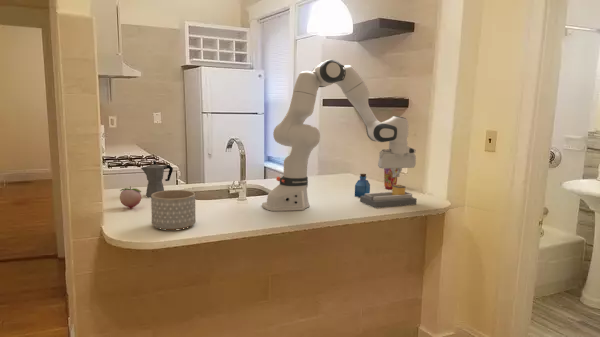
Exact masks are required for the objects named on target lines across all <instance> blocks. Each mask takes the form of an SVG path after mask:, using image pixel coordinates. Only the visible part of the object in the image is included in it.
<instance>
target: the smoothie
mask: <svg viewBox="0 0 600 337" xmlns="http://www.w3.org/2000/svg"><path fill="white" fill-rule="evenodd" d="M397 171H398V170H397V168H396V170H395V172H396V173H397ZM383 175H384V177H383V178H384V180H383V181H384V183H383V184H384V186H383V187H384V189H385V190H392V188H393V186H392V185H398V184H397V182H398V177H393V173H392V171H391V168H383Z"/></svg>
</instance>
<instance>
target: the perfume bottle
mask: <svg viewBox="0 0 600 337" xmlns="http://www.w3.org/2000/svg"><path fill="white" fill-rule="evenodd" d="M359 175H360V176H359V179H358V180H357V181H356V183H355V185H354V197H356V198H360V196H365V194H366V193H371V184H370V182H369V180H368V179H367V174H366V173H359Z"/></svg>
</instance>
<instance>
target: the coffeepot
mask: <svg viewBox="0 0 600 337" xmlns="http://www.w3.org/2000/svg"><path fill="white" fill-rule="evenodd" d="M140 169H141V170H142V171H143V172H144V174H145V176H146V180H147V181H148V182H147V186H146V191H145V192H146V194H145V197H146V196H147V198H149V197H151V195H152V194H153V193H155V192H159V191H165V188H164V184H163V180H164V181H165V182H169V181H171V180H170V179H171V176H172V173H173V170H174V167H172V166H171V165H170V164H163V165H161V164H157V160H153V161H152V164H151V165H150V164H149V165H146V166H142V167H141V168H140ZM165 170H168V174H167V178H166V179H165V178H164V172H165ZM163 178H164V179H163Z"/></svg>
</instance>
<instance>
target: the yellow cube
mask: <svg viewBox="0 0 600 337" xmlns="http://www.w3.org/2000/svg"><path fill="white" fill-rule="evenodd" d="M392 186H393V188H392V191H391V192H392V195H403V194H405V192H406V187H407V186H405V185H402V184H396V185H392Z"/></svg>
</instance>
